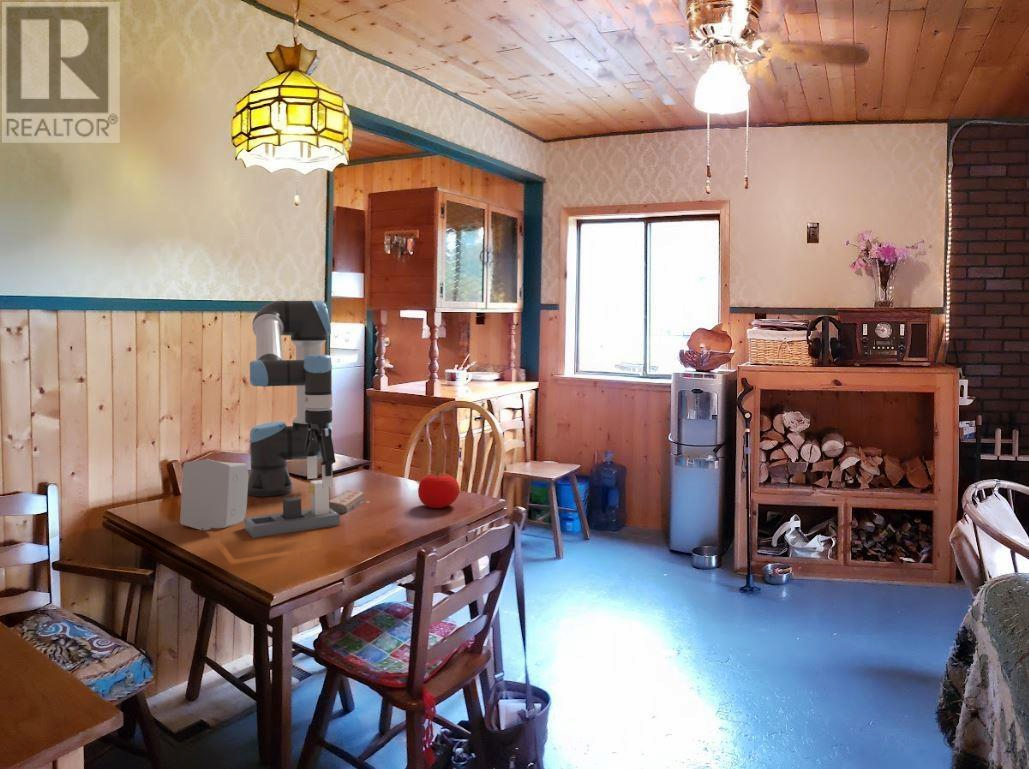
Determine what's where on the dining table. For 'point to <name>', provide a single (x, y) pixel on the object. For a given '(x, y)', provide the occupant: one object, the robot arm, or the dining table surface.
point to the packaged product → (346, 501)
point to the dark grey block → (291, 508)
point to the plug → (319, 498)
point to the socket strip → (288, 523)
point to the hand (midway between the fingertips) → (319, 482)
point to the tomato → (438, 490)
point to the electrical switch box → (213, 494)
